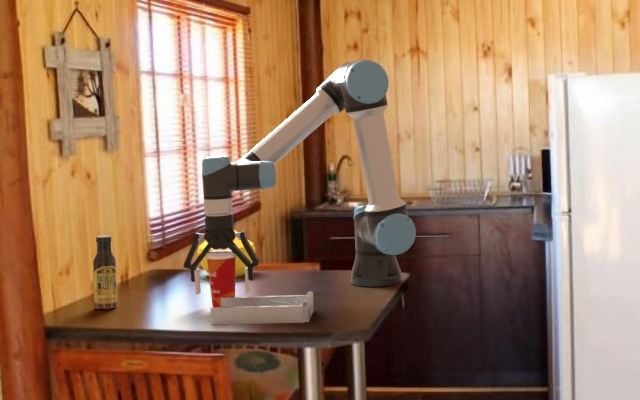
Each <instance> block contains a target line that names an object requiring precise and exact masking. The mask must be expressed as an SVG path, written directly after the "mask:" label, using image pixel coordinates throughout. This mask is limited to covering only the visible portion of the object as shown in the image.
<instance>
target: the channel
mask: <svg viewBox="0 0 640 400" xmlns="http://www.w3.org/2000/svg"><path fill="white" fill-rule="evenodd" d="M314 311H315V310H314V291H313V290H312V291H310V290H309V291H307V293H306V294H297V295H296V294H295V295H294V294H292V295H261V296H260V295H256V296H255V295H251V296H235V297H221V307H213V306H211V307H210V320H211V321H210V322H211V325H213V326H216V325H218V326H219V325H251V324H252V325H254V324H255V325H259V324H260V325H261V324H293V323H294V324H301V323H303V324H304V323H305V322H307V323H309V322H310V319H311V318H312V315H313V313H314ZM310 317H311V318H310ZM307 323H306V324H307Z"/></svg>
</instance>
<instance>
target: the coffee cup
mask: <svg viewBox="0 0 640 400" xmlns="http://www.w3.org/2000/svg"><path fill="white" fill-rule="evenodd" d="M235 257H236V254H235V253H234V252H233V251H231V250H213V251H209V252H207V256H206V259H207V263H208V272H209V274H208V278H209V279H208V280H209V286H210V287H209V289H210V297H211V303H212V307H221V297H236V277H235Z"/></svg>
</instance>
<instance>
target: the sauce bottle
mask: <svg viewBox="0 0 640 400" xmlns="http://www.w3.org/2000/svg"><path fill="white" fill-rule="evenodd" d="M95 242H96V255H95V256H94V259H93V261H92V262H93V263H92V264H93V269H92V275H93V281H92V282H93V302H94V309H96V310H100V309H105V310H111V308H113V309H116V308H117V306H118V304H117V303H118V284H117V283H118V281H117V280H118V278H117V277H118V276H117V263H116V262H117V261H116V257H115V256H114V254H113V252H112V236H111V235H97V236H95ZM115 307H116V308H115Z"/></svg>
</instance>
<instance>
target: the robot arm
mask: <svg viewBox="0 0 640 400" xmlns="http://www.w3.org/2000/svg"><path fill="white" fill-rule="evenodd" d="M383 67H384V66H382V65H380V64H379V63H378V62H376V61H373V60H370V59H358V60H355V61H349V62H346V63H343V64H342V65H340V66H339V67H338V68H337V69H335V71H334V72H332V73H331V74H330V75H329V76H328V77H327V78H326V79H325V80H324V81H323V82H322V83H321V84H320V85H319V86H318V87H317V88H316V89H315V94H314V95H313V96H312V97H310V99H308V100H307V101H306V102H305V103H303V104H302V105H301V106H300V107H299V108H298V109H297V110H295V111H294V112H293V113H292V114H291V115H290V116H289V117H287V118H286V119H285V120H284V121H283V122H282V123H280V124H279V125H278V126H277V127H276V128H275V129H274V130H273V131H271V132H270V133H269V134H268V135H267V136H265V138H263V139H262V140H261V141H259V142H258V143H257V144H256V145H255V146H254V147H253V148H252V149H250V150H249V152H247V153H246V154H245V155H244V156H242V157H241V158H239V159H236V160H235V161H233V162H232V161H231V159H230V157H229V155H212V156H206V157H204V158H203V159H202V161H201V167H202V169H201V170H202V171H201V177H202V178H201V179H202V192H203V212H204V214H205V217H204V227H205V228H204V229H205V230H204V231H205V232H204V233H200V232H195V233H194V234H193V242H192V244H191V246H190V249H189V252H188V253H187V256H186V258H185V260H184V263H183V268H184V269H189V271H190V281H191V282H194V285H195V288H194V289H195V295H199V294H201V276H200V268H198V266H199V265H200V262H201V261H202V259H203V258H204V257H205V255H206V254H207V252H209V250H210V249H211V248H213V249H214V250H215V249H227V248H229V249H230V250H231V251H233V252H234V253H235V254H236V256H237V257H238V258H239V259H240V260H241V261H242V262H243V263H244V264H245V265H246V266H247V267H246V268H245V274H244V279H245V281H244V283H245V294H249V293H251V281H253V279H254V267H257V266H259V264H260V260H259V258H258V256H257V254H256V251H255V252H254V251H253V249H252V247H251V245H250V244H249V242H248V240H249V239H248V240H247V238H248V236H247V232H246V231H245V230H242V231H241V232H240V231H239V232H238V231H237V232H238V233H235V232H234V230H235V229H234V225H235V224H234V215H233V214H232V213H233V212H234V210H233V209H234V207H233V195H232V193H233V192H234V191H235V192H236V191H255V190H269V189H273V188H274V187H275V186H276V182H277V170H276V166H275V165H276V164H277V163H278V162H280V161H281V160H282V159H283V158H285V156H287V155H288V154H289V153H290V152H291V151H292V150H293V149H294V148H296V147H297V146H298V145H299V144H301V142H303V141H304V140H305V139H307V137H309V135H311V134H312V133H313V132H314V131H315V130H316V129H318V128H319V127H320V126H321V125H322V124H323V123H325V122H326V121H327V120H328V119H329V118H330V117H332V115H339V114H340V113H342V112H343V111H344V110H345V114H346V115H347V116H349V117H350V118H352V121H353V126H354V128H353V129H354V132H355V138H356V143H357V147H358V154H359V159H360V163H361V169H362V174H363V180H364V186H365V190H366V191H365V192H366V196H367V202H368V203H367V205H366V204H365V205H357V206H356V207H354V209H353V216H352V217H353V218H352V219H353V223H354V225H353V226H354V242H355V243H354V245H355V246H354V247H355V258H354V262H353V266H352V269H351V273H350V284H351V285H354V286H359V287H369V288H370V287H371V288H372V287H387V286H393V285H398V284H401V283H402V282H403V274H402V269H401V268H400V265H399V262H398V259H397V256H396V255H401V254H404V253H405V252H407V251H408V250H409V249H410V248H411V247H412V245H413V244H414V242H415V240H416V235H417V229H416V226H415V223H414V222H413V220H412V218H410V216H409V214H408V209H407V205H406V201H405V200H403V199H402V198H400V196H399V190H398V186H397V181H396V174H395V169H394V163H393V157H392V152H391V146H390V142H389V137H388V132H387V131H388V130H387V125H386V120H385V114H384V113H385V111H386V109H387V108H388V105H389V103H388V100H387V99H388V98H387V93H388V91H389V83H390V82H389V77H388V74H387V72H386V70H385V69H384V68H383ZM235 237H237V238H238V239H239V240H241V242H242V244H243V246H244V248H245V250H246V251H247V253H248V255H249V257H250V258H251V260H252V262H251V261H250V260H249V259H248V258H247V257H246V256H245V255H244V254H243V252H242V251H241V250H240V249H239V248H238V247H237V245H236V244H235V243H234V242H233V240H234V239H235ZM203 239H204V241H207V243H208V244H207V245H206V247H205V248H204V250H203V251H202V252H201V254H200V255H199V256H198V255H197V257H196V259H195V260H194V261H193V262H192V260H193V259H194V256H195V254H196V251H197V250H198V248H199V246H200V245H199V244H200V242H202V241H203Z"/></svg>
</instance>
